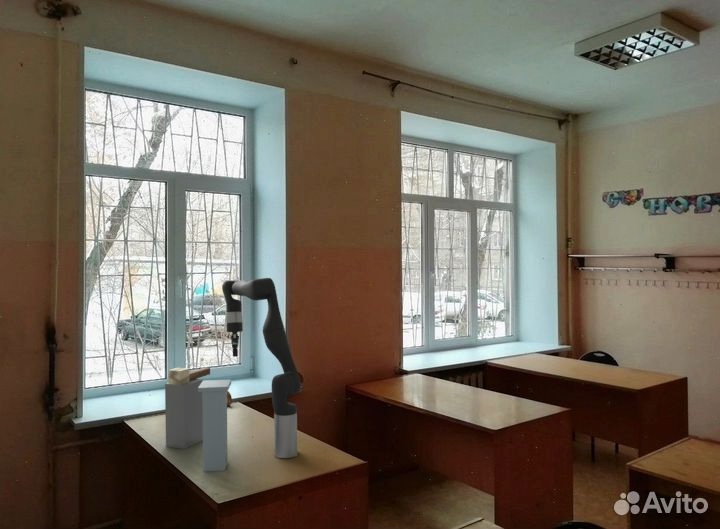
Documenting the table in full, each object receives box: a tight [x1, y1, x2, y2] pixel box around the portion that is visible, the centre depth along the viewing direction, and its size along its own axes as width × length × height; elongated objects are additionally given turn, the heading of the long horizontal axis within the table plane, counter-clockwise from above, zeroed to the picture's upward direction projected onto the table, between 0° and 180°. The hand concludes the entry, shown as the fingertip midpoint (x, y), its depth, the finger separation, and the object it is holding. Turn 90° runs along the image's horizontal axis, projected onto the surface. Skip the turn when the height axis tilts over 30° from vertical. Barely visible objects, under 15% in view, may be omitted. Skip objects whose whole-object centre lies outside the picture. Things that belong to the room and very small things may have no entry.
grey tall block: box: [164, 378, 203, 450], centre depth 230 cm, size 12×10×27 cm
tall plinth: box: [198, 379, 232, 472], centre depth 205 cm, size 11×12×32 cm
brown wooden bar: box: [168, 366, 211, 385], centre depth 235 cm, size 6×22×6 cm, turn 158°
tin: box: [227, 390, 233, 407], centre depth 290 cm, size 15×3×8 cm, turn 47°
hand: (235, 356), depth 248 cm, fingers open, 8 cm apart
